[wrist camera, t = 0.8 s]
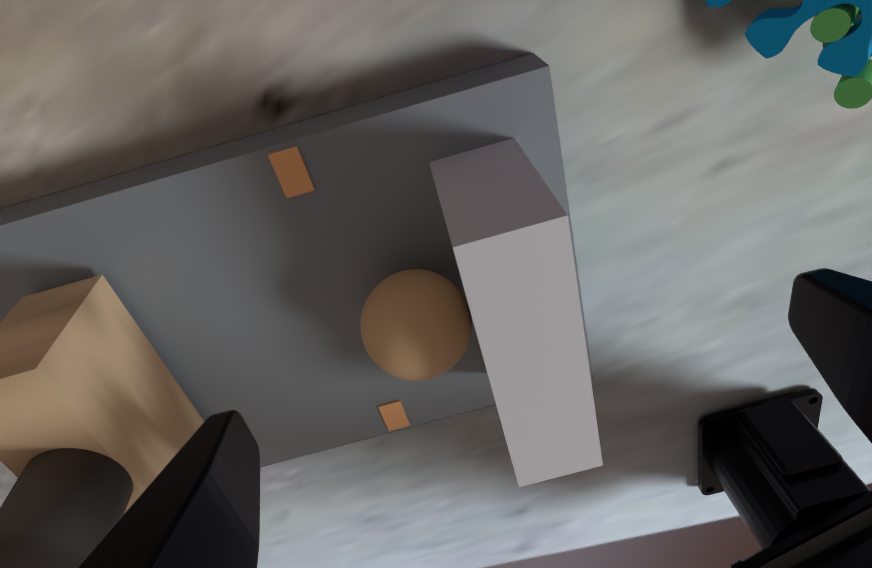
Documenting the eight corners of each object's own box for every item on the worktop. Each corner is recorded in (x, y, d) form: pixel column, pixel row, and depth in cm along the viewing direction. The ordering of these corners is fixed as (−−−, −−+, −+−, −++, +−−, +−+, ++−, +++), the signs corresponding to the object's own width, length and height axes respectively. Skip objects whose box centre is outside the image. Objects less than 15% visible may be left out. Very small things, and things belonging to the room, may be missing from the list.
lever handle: (221, 442, 25) (141, 748, 16) (151, 460, 25) (32, 775, 16) (105, 273, 20) (-108, 576, 11) (19, 297, 20) (-262, 617, 11)
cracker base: (578, 350, 28) (648, 489, 21) (108, 476, 29) (32, 647, 22) (533, 52, 20) (620, 123, 13) (-105, 239, 21) (-319, 390, 14)
